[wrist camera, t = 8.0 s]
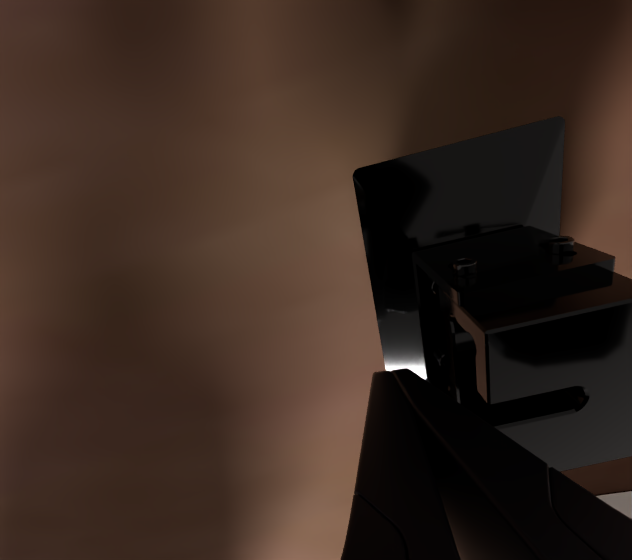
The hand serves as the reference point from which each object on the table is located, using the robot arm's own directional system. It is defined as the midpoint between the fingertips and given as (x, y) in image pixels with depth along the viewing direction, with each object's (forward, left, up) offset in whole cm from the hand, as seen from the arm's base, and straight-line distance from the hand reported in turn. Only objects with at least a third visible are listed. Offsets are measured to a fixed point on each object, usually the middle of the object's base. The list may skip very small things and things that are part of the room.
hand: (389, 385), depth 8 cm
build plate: (+1, -3, -3) cm, 4 cm away
